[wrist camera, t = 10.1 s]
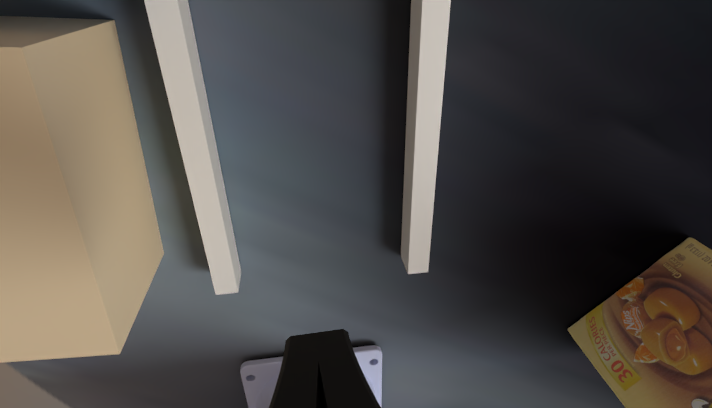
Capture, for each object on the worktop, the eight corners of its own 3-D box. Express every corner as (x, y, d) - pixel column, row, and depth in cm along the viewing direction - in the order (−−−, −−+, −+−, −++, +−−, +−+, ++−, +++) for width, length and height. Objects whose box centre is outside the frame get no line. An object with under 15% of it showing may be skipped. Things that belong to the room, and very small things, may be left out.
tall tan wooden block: (164, 251, 20) (119, 354, 14) (71, 255, 19) (-11, 363, 14) (115, 19, 15) (21, 47, 10) (-11, 15, 14) (-185, 41, 9)
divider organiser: (419, 253, 22) (444, 308, 18) (21, 294, 19) (-37, 364, 16) (442, -78, 15) (490, -92, 11) (-178, -71, 12) (-357, -86, 9)
